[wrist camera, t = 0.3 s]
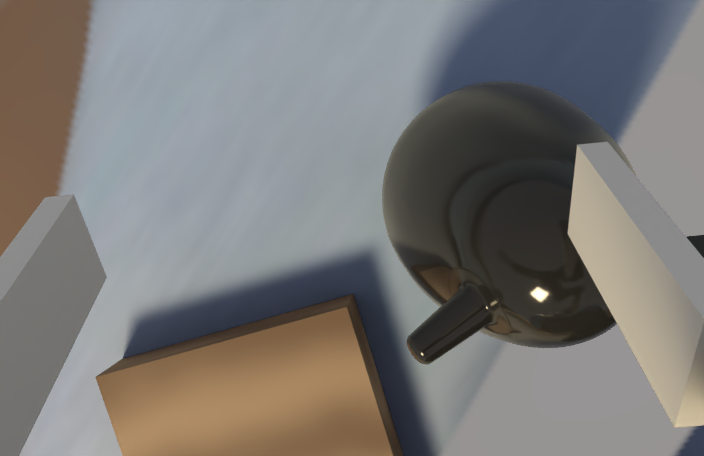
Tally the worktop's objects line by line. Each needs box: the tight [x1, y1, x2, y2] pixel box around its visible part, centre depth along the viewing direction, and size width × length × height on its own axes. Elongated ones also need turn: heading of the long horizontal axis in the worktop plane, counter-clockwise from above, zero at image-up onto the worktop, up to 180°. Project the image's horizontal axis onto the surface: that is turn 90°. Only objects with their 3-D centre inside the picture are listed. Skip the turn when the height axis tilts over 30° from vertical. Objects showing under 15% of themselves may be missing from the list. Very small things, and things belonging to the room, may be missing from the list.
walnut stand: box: [96, 294, 403, 456], centre depth 34 cm, size 14×14×3 cm
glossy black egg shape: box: [382, 81, 636, 364], centre depth 25 cm, size 10×10×15 cm
